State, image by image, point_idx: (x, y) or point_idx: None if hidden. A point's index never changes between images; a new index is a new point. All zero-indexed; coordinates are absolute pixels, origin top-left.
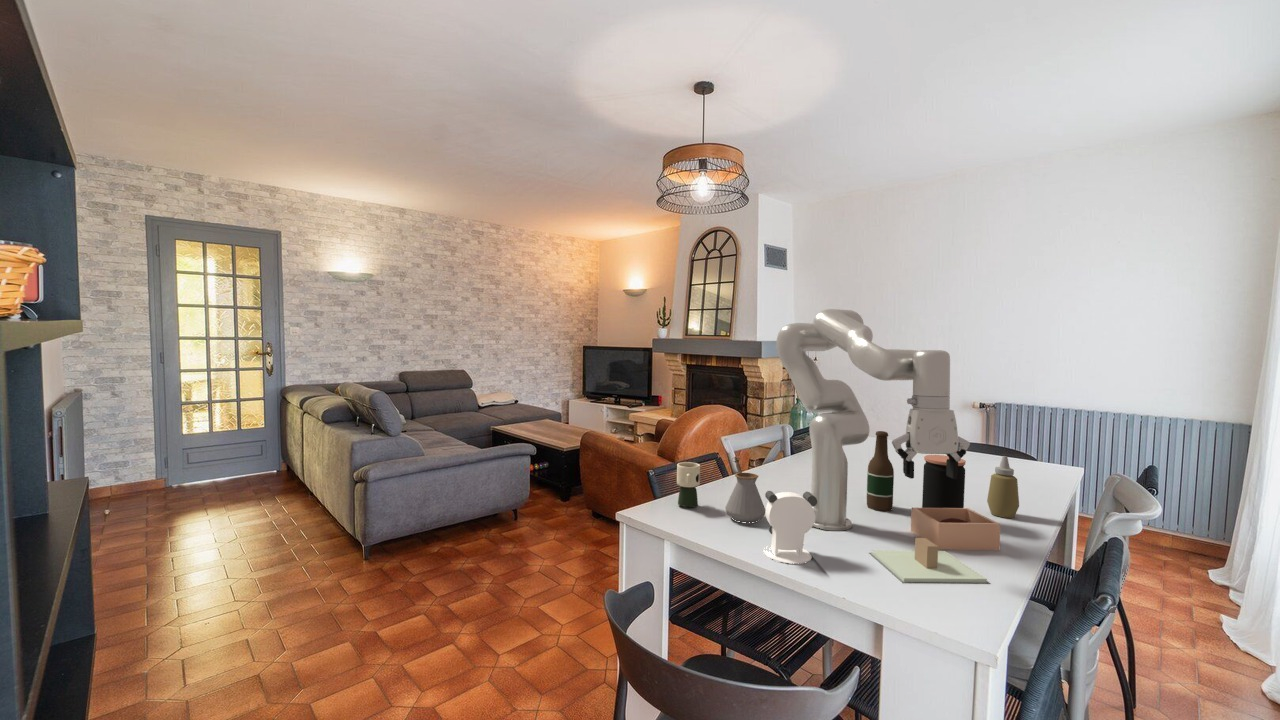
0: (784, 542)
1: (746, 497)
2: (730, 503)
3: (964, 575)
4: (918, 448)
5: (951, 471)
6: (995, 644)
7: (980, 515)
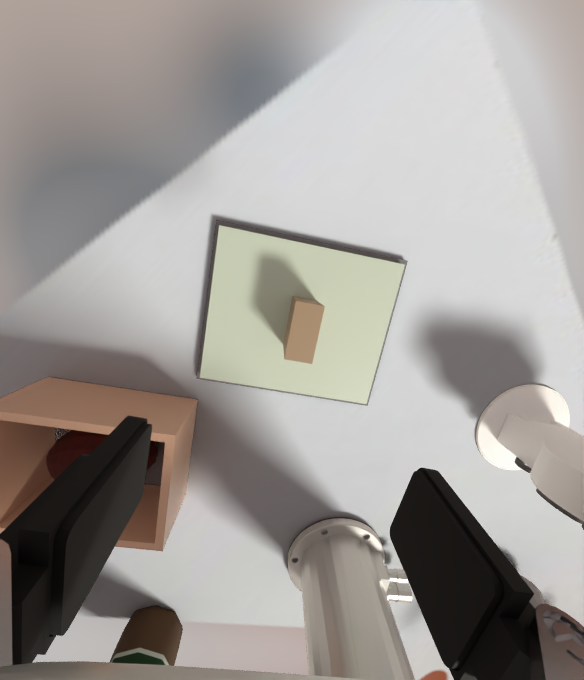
0: (567, 433)
1: None
2: None
3: (258, 251)
4: None
5: (126, 477)
6: None
7: None
